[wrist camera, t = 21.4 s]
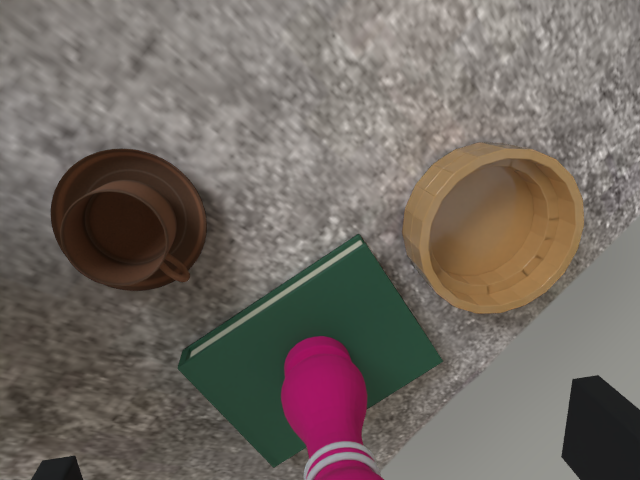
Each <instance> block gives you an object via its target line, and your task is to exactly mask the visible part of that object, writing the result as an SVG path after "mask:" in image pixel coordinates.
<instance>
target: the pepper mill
mask: <svg viewBox="0 0 640 480" xmlns="http://www.w3.org/2000/svg"><path fill="white" fill-rule="evenodd" d="M284 372H285V380H284V382H283V385H282V390H281V402H282V406H283V411H284V414H285V417H286V419H287V421H288V422H289V424H290V426H291V428H292V429H293V430H294V432H295V433H296V434H297V435H298V436H299V437H300V439H301V440H302V441H303V442H304V443H305V444H306V446H307V450H308V454H309V461H308V462H307V464H306V466H305V470H304V480H384V479H383V478H381V474H380V470H379V468H378V465H377V461H376V458H375V456H374V454H373V453H372V452H371V451H370V450H369V449H368V448H367V447H365V446H363V442H362V437H361V433H362V426H363V423H364V419H365V415H366V410H367V391H366V385H365V381H364V378H363V376H362V374H361V372H360V371H359V369H358V368H357V367H356V366H355V365H354V364H353V363H352V361H351V358H350V355H349V353H348V351H347V349H346V348H345V346H344V345H343V344H342V343H340V342H339V341H337V340H335V339H333V338H330V337H325V336H317V337H311V338H307V339H305V340H303V341H301V342H299V343H297V344H296V345H295V346H294V347H293V348H292V349H291V350H290V352H289V353H288V355H287V357H286V360H285V364H284Z"/></svg>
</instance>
